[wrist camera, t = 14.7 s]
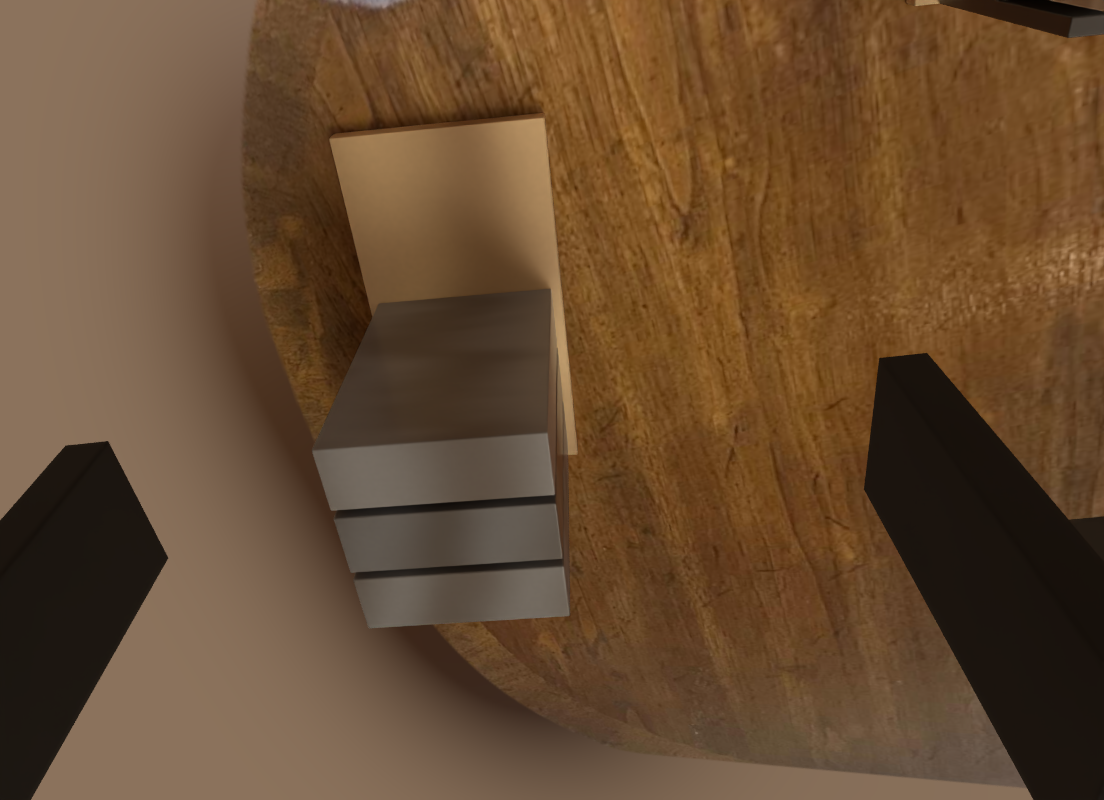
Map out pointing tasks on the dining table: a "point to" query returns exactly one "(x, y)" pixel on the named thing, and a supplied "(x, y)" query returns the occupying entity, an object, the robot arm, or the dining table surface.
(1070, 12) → the beige stand
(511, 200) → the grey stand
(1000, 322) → the dining table surface
